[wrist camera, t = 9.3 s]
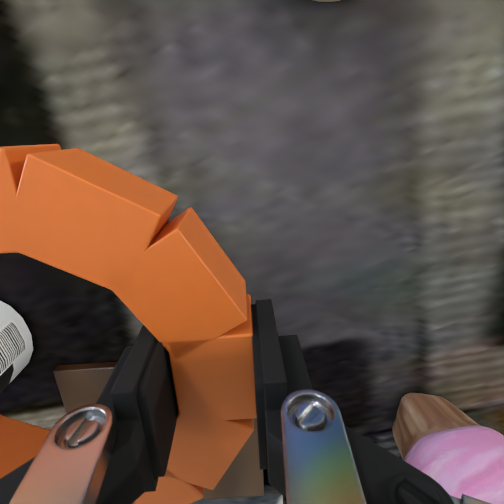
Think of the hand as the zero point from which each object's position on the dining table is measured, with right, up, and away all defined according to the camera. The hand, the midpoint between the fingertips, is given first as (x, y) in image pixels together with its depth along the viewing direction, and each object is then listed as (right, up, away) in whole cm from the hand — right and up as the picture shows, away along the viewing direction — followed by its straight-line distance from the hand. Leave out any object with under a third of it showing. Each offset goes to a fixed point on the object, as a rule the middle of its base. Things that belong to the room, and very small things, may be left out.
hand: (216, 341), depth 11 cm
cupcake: (+17, -12, +20) cm, 28 cm away
